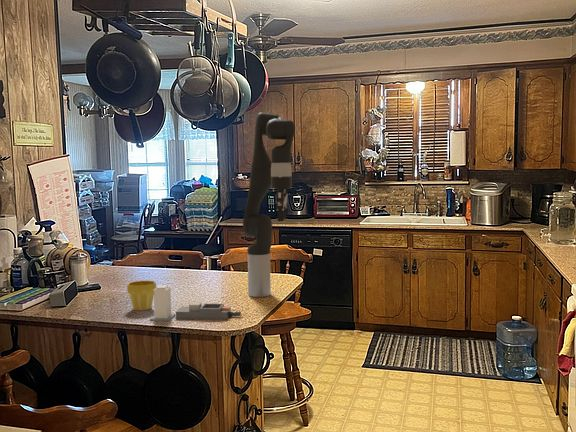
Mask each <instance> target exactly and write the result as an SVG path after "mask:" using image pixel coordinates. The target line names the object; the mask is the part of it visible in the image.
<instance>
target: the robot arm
mask: <svg viewBox="0 0 576 432" xmlns="http://www.w3.org/2000/svg"><path fill="white" fill-rule="evenodd" d="M295 133H296V124H295V122H294V121H292V119H284V118H283V117H282V116H281V115H279V114H275V113H268V112H261V111H260V112H258V114H257V115H256V118H255V125H254V141H253V142H254V143H253V154H252V161H251V168H250V174H249V176H250V178H249V186H248V194H247V201H246V205H245V210H244V216H243V219H242V230H243V233H244V234H245V236H247V237H255V238H256V240H255V243H253V244H250V245H249V246H247V252H246V253H247V293H248V297H254V298H264V297H268V296H269V297H270V296H271V295H272V291H271V288H272V285H271V247H272V238H273V237H272V236H273V223H272V219H271V217H270V216H269V215H267V214H259V212H260V206H261V203H262V201H263V199H264V197H265V196H267V195H266V194H267V193H268V192H269V190H270V188H271V189H273V190H277V192H275V208H276V211H277V216H276V217H277V222H283V221H284V220H285V219H286V218H287V208H288V191H287V190H286V189H290V190H291V189H292V188H293V185H292V184H293V179H292V178H293V177H292V172H293V171H292V163H291V162H292V160H291V159H292V153H291V152H292V146H293V145H292V144H293V141H294V137H295ZM263 136H266V137H267V138H268V139H270V140H274V141H276V140H279V141H281V140H282V141H283V140H284V143H283V144H281V145H277V146H274V147H271V152H270V153H271V154H270V155H271V158H270V156H269V155H268V153H267V150H266V147H265V143H264V140H263Z"/></svg>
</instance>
